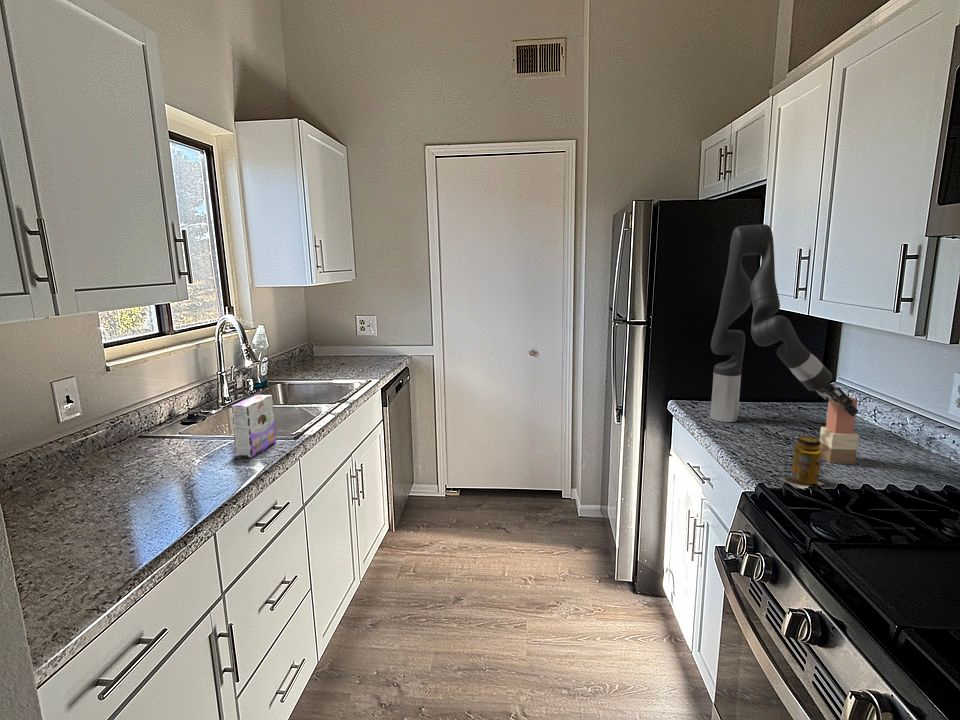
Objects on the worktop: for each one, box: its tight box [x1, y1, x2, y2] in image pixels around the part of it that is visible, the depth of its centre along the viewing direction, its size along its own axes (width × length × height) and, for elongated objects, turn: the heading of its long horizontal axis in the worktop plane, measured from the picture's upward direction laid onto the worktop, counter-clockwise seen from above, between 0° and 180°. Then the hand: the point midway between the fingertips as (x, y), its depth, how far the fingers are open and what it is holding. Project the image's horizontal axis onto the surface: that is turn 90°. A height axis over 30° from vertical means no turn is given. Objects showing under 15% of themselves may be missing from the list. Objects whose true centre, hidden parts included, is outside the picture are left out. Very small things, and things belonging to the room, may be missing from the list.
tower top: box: [819, 426, 860, 451], centre depth 160 cm, size 7×7×4 cm
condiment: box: [778, 435, 826, 490], centre depth 144 cm, size 7×8×12 cm
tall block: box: [825, 395, 858, 434], centre depth 159 cm, size 5×5×10 cm
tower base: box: [820, 442, 858, 465], centre depth 161 cm, size 7×7×4 cm
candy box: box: [230, 394, 277, 458], centre depth 172 cm, size 14×6×16 cm, turn 168°
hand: (846, 409), depth 159 cm, fingers open, 8 cm apart
